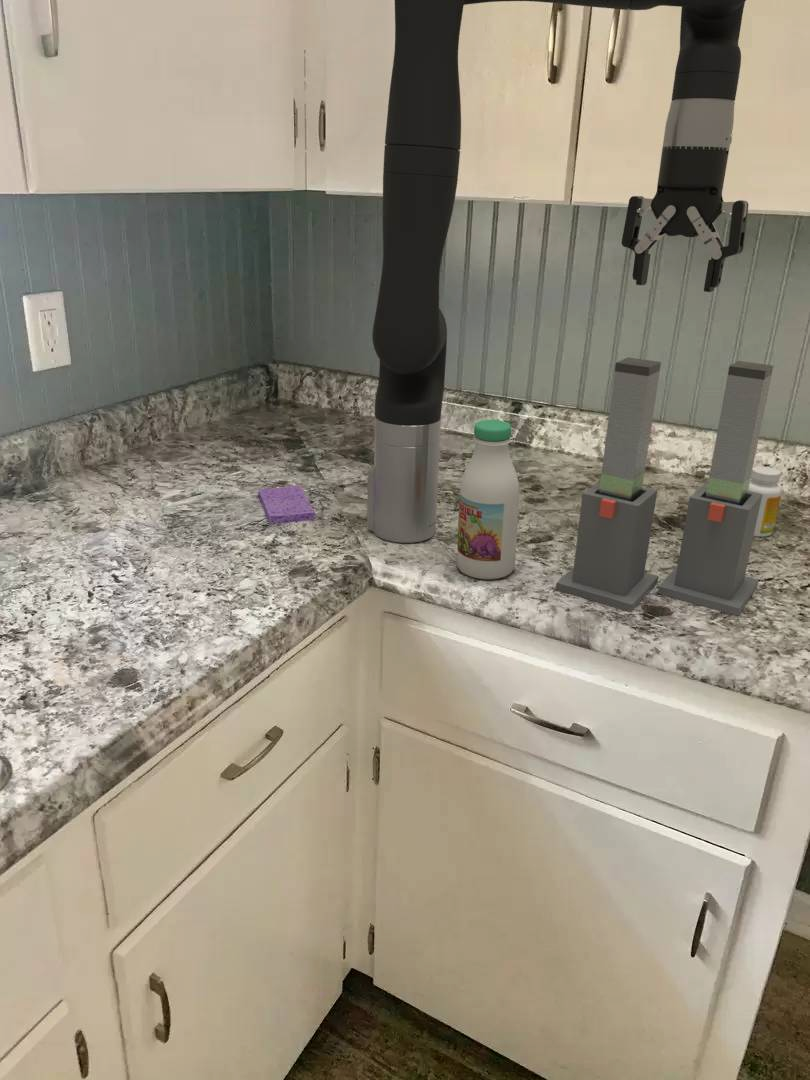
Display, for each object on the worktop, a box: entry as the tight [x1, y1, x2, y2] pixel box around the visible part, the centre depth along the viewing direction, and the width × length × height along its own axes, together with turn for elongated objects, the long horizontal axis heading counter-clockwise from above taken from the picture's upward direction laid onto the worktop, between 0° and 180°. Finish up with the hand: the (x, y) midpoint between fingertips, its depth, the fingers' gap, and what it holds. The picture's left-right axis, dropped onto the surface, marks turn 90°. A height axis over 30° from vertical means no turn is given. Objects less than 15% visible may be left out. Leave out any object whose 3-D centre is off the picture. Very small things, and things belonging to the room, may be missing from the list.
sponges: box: [257, 484, 316, 525], centre depth 131 cm, size 7×13×2 cm, turn 17°
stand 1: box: [555, 481, 660, 613], centre depth 106 cm, size 10×10×13 cm
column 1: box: [599, 357, 662, 502], centre depth 101 cm, size 4×4×22 cm
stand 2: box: [657, 481, 762, 616], centre depth 106 cm, size 10×10×13 cm
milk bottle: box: [456, 419, 520, 580], centre depth 108 cm, size 8×8×20 cm
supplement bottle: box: [748, 465, 783, 538], centre depth 126 cm, size 5×5×10 cm
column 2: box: [705, 360, 774, 506], centre depth 101 cm, size 4×4×22 cm
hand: (674, 288), depth 105 cm, fingers open, 8 cm apart
